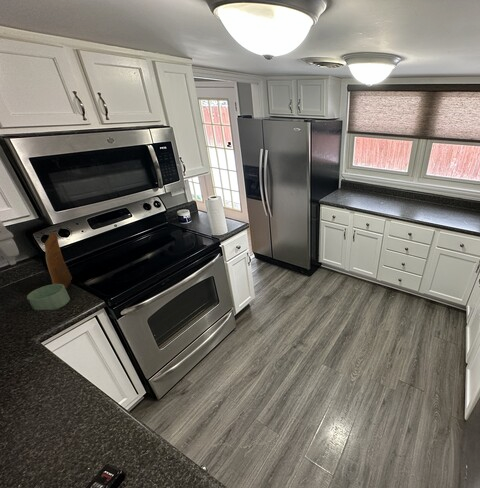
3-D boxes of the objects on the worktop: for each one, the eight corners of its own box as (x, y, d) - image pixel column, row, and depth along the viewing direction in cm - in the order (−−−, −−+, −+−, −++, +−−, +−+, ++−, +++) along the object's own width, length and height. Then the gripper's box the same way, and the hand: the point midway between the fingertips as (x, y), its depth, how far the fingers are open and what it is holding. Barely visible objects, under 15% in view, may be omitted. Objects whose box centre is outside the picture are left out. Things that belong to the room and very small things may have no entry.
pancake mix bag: (79, 274, 151) (60, 229, 139) (67, 292, 136) (45, 243, 124) (64, 277, 148) (43, 231, 136) (50, 295, 133) (25, 246, 121)
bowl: (26, 313, 121) (18, 299, 118) (52, 296, 132) (45, 283, 129) (54, 314, 121) (47, 300, 118) (77, 297, 133) (71, 284, 129)
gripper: (-35, 231, 109) (-17, 260, 115) (-8, 239, 103) (9, 270, 109) (-13, 226, 114) (3, 254, 120) (14, 234, 108) (29, 263, 114)
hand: (6, 261), depth 114 cm, fingers open, 8 cm apart
